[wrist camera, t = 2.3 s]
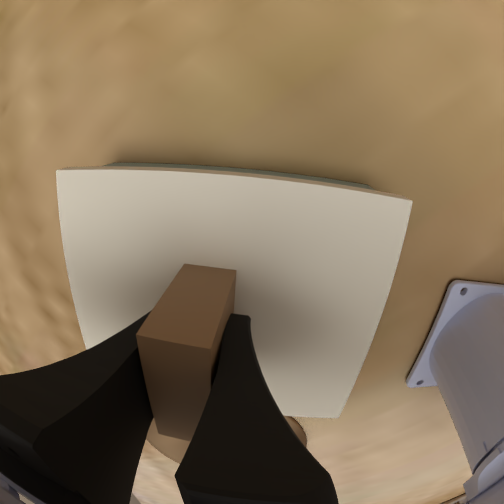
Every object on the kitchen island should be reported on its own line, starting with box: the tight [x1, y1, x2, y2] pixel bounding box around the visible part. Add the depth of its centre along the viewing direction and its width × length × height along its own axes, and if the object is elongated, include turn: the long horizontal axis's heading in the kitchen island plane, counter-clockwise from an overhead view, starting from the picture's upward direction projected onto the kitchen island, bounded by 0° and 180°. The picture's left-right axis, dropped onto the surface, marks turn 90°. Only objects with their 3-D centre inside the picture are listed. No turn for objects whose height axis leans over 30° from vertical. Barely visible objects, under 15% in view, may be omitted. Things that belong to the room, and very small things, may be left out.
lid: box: [56, 166, 413, 442], centre depth 10 cm, size 13×11×6 cm
